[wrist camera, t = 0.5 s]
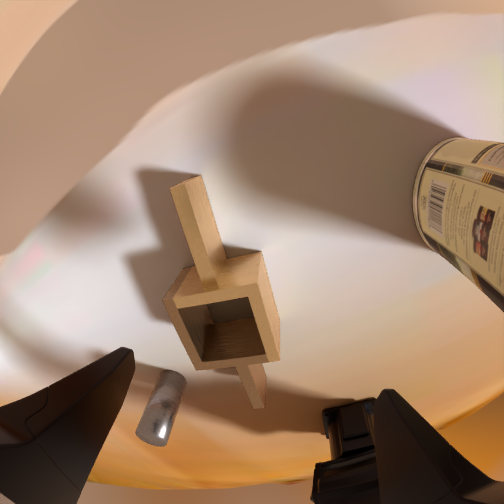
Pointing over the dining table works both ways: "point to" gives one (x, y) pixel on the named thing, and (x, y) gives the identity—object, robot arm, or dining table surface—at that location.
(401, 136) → the dining table surface
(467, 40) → the dining table surface
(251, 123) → the dining table surface
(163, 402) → the pin
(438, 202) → the coffee can
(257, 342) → the wooden box with arms
